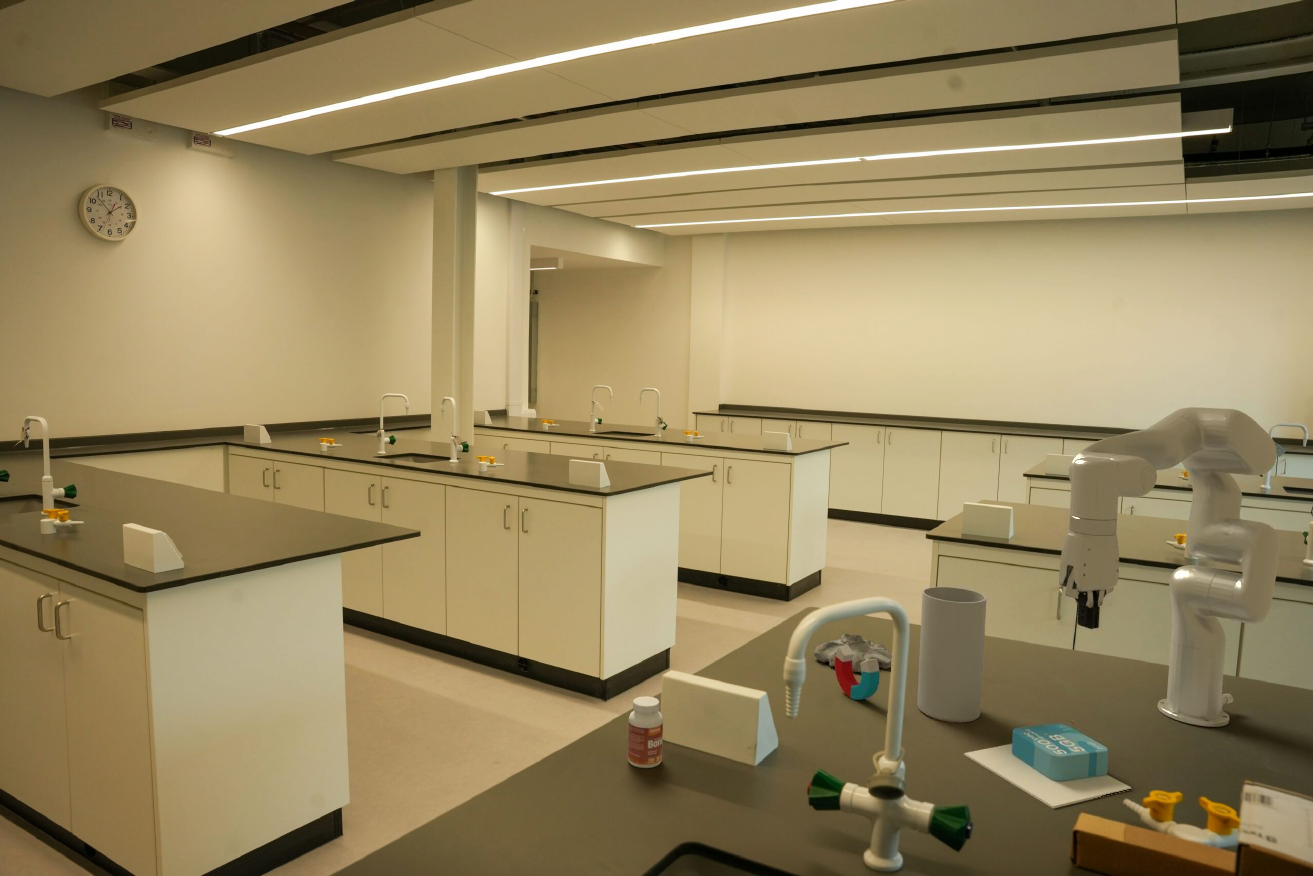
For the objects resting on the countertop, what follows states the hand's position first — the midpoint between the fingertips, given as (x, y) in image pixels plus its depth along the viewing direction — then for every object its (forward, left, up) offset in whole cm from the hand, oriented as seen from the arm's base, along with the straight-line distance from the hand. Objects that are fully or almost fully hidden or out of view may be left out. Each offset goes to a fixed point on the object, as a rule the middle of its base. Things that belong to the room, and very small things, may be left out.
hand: (1087, 626), depth 149 cm
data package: (-1, +1, -23) cm, 23 cm away
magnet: (+21, -39, -26) cm, 51 cm away
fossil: (+7, -58, -26) cm, 64 cm away
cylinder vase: (+7, -26, -26) cm, 37 cm away
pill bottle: (+75, -27, -26) cm, 84 cm away
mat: (+10, +1, -25) cm, 27 cm away
